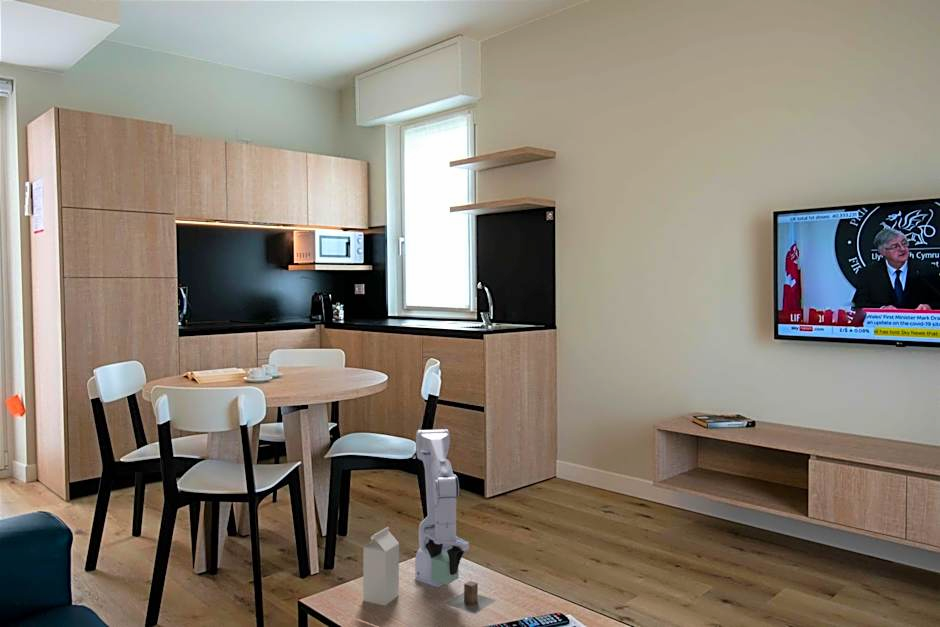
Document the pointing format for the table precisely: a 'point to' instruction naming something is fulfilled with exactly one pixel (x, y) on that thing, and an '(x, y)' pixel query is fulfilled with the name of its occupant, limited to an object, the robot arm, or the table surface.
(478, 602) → the peg stand
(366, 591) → the milk carton
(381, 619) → the table surface
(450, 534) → the robot arm
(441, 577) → the mint green cube
